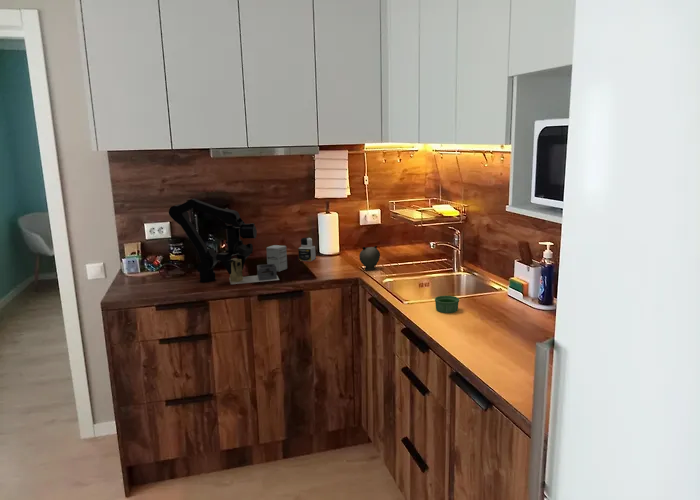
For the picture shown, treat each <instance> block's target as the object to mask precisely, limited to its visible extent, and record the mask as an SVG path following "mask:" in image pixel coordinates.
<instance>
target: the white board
mask: <svg viewBox="0 0 700 500" xmlns="http://www.w3.org/2000/svg"><path fill="white" fill-rule="evenodd" d="M228 279H229V283H230V285H236V284H237V285H241V284H251V283H259V282H260V283H261V282H271V281H272V282H273V281H280V278H279V276H278V275H277V279H271V280H260V281H259V279H258V275H257V274H256V275H249V276H247V275H246V276H243V280H241V281H239V282H233V281H230V277H229V278H228Z"/></svg>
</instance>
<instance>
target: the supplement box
mask: <svg viewBox="0 0 700 500" xmlns="http://www.w3.org/2000/svg"><path fill="white" fill-rule="evenodd" d="M265 249H266V263H267V264H274V265H275V266H276V272H281V271H282V272H283V271H284V270H287V269H288V256H287V255H288V254H287V246H286V245H278V244H273V245H270V246H267V247H266V248H265Z"/></svg>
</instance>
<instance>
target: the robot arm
mask: <svg viewBox="0 0 700 500" xmlns="http://www.w3.org/2000/svg"><path fill="white" fill-rule="evenodd" d="M193 209H194V210H197V211H200V212H202V213H205V214H207V215H211V216H214V217H216V218H218V219H219V220H220V221H222V222H223V223H224V225H223V226H222V227H221V230H226V240H225V244H227V249H226V250H225V252H223V251H222V252H220V253H217V252H216V250H215V248H214V247H211V248H210V247H208V246H207V244H206V243H205V242H204V240H203V238H202V236H201V235H200V234H199V232H198V230H196V227H195V226H194V224H193V223H192V222H191V219H190V215H189V211H191V210H193ZM168 215H169V217H170V218H171V219H172V220H173V221H174V222H175V223H176V224H178V225H179V226H180V227H181V229H182V230H183V231H184V233H185V235H186V236H187V237H188V239H189V240H190V242H191V243H192V245H193V247H194V248H195V250H196V251H197V254H198V260H199V262H200V263H199V264H198V265H197V266H196V270H197V272H198V273H199V282H200V283H210V282H211V283H212V282H215V281H216V271H215V270H214V268H215V266H216V265H217V264H218V261H219V262H221V264H222V265H223V266H224V268H225V270H226V272H227V273H228V275H230V274H231V263H232V261H233V260H231V259H233V257H235V256H236V258H238V259H241V261H242V271H243V270H244V267H245V263H246V260H247V258H248V257H249V256H250V255H252V254H253V252H254V246H253V244H252V243H250V242H249V243H247V244H244V243H243V242H244V241H243V240H242V239H256V238H257V235H258V233H257V232H258V230H257V227H256V226H255V223H254V222H251V223H246V222H245V221H244V220H243V218H242V217H240V216H241V215H240V213H239V212H238V211H237V210H234V209H228V208H221V207H218V206H216V205H213V204H211V203H207V202H205V201H202V200H199V199H198V198H191V199H189V200H188V201H186V202H183V203H181V204H180V203H179V204H176V205H171V207H170V208H169V209H168ZM241 238H242V239H241Z"/></svg>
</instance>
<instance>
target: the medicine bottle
mask: <svg viewBox="0 0 700 500" xmlns="http://www.w3.org/2000/svg"><path fill="white" fill-rule="evenodd" d="M315 259H316V246H315V245H313V239H312V238H311V237H303V238H301V239H300V246H299V247H298V261H299V260H300V261H299V262H313V261H314V260H315Z"/></svg>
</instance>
